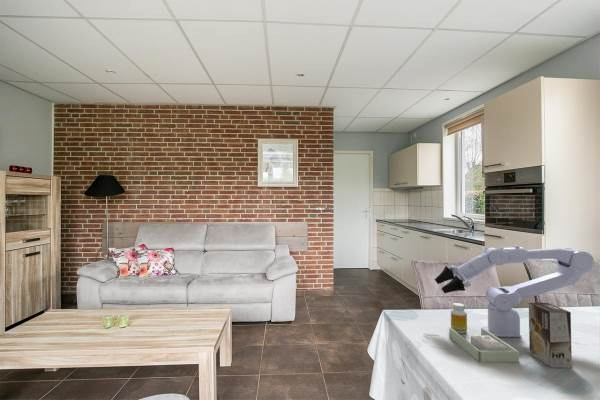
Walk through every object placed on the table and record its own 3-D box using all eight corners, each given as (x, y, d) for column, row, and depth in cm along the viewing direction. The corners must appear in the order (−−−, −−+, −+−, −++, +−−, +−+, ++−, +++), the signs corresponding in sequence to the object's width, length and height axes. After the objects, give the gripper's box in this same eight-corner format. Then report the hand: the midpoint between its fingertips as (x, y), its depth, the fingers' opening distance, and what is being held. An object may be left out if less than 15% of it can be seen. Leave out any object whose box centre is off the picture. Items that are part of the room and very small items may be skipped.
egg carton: (488, 347, 101) (488, 333, 101) (506, 359, 93) (505, 344, 93) (470, 348, 101) (470, 333, 101) (487, 360, 93) (487, 344, 93)
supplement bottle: (469, 334, 111) (468, 307, 111) (453, 332, 112) (452, 306, 112) (464, 328, 116) (464, 302, 117) (449, 327, 117) (448, 301, 118)
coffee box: (573, 368, 88) (572, 312, 88) (550, 368, 88) (550, 311, 88) (548, 353, 97) (547, 302, 97) (527, 352, 97) (527, 302, 97)
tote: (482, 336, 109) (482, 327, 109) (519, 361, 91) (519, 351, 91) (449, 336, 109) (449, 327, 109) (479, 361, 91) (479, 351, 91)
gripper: (458, 253, 122) (428, 270, 124) (475, 267, 108) (440, 286, 110) (467, 267, 122) (437, 283, 125) (485, 283, 108) (450, 302, 111)
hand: (439, 286), depth 118 cm, fingers open, 7 cm apart
